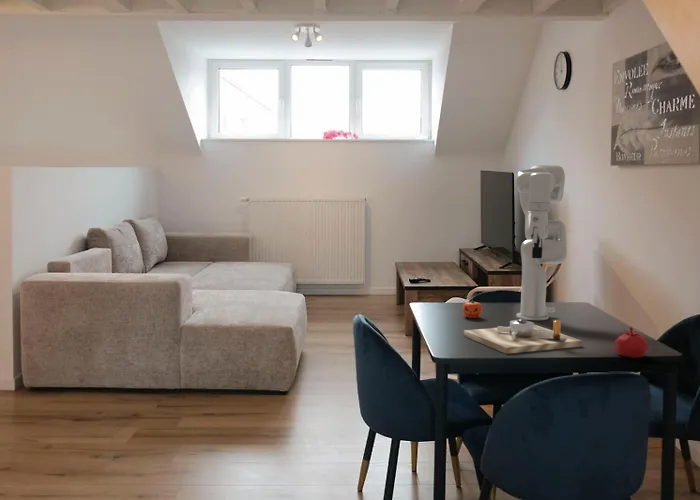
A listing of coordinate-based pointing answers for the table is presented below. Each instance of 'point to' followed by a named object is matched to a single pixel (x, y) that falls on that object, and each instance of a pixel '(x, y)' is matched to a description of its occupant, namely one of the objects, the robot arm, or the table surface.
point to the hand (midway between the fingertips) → (537, 257)
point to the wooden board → (520, 341)
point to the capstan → (530, 329)
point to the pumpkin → (472, 309)
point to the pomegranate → (631, 345)
